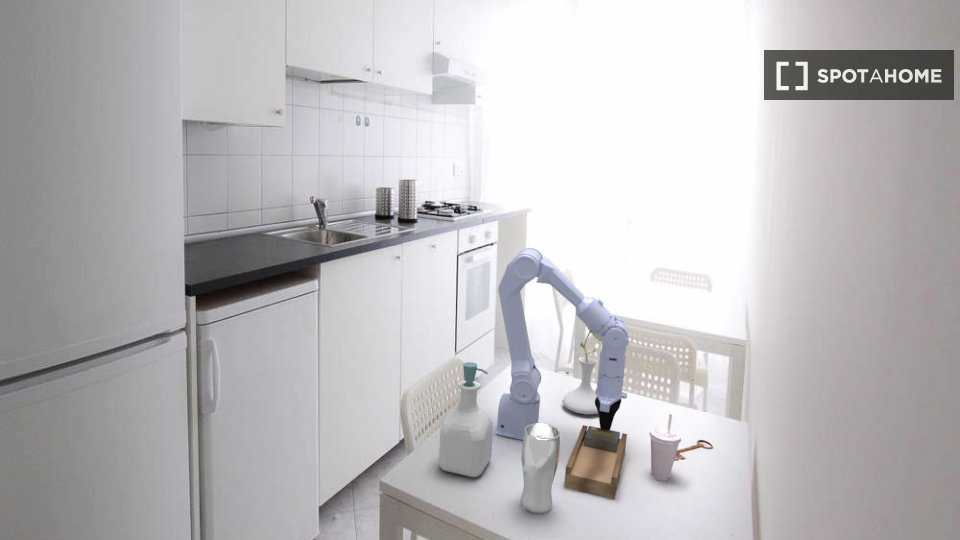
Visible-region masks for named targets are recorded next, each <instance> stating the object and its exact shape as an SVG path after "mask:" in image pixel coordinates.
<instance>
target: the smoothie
mask: <svg viewBox="0 0 960 540" xmlns="http://www.w3.org/2000/svg"><path fill="white" fill-rule="evenodd" d="M672 419H673V414H672V413H669V414H668V422H667V426H654V427H652V428H650V430H649V433H648V435H649V438H650V474H651V476H652V477H653V478H654V479H656V480H657V481H658V480H659V481H668V480H670V477H671V474H672V470H673V466H674V463H675V461H674V459H676V458H675V456H676V452H677V450H678V448H679V444H680V443H681V442H682V434H681V433H680V432H678V431H677V430H676V429H673V428H671V425H672Z"/></svg>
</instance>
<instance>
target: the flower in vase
mask: <svg viewBox="0 0 960 540" xmlns="http://www.w3.org/2000/svg"><path fill="white" fill-rule="evenodd" d="M584 325H585V326H586V328H587V330H588V331H589V332H588V333H587V334H586V338H585V339H584V343H583V341H581V342H580V344H579V346H580V347H581V348H582V349H583V350H584V355H585V356H580V357H578V362H579V363H580V366H581V374H582V375H581V382H580V385H579V386H578V387H576V388H575V389H573V390H571V391H569V392H568V393H566V394H565V395H564V396H563V398H562V403H563V406H564V407H565V408H566V409H568V410H569V411H571V412H574V413H577V414H580V415H581V414H582V415H598V410H597V408H596V406H595V399H596V397H597V395H596V393H595V391H596V390H594V389H593V388H592V385H591V378H592V373H593V369H594V368H595V366H596V364H597V363H599V361H598V359H597V358H594V357H591V356H588V355H590V354H592V353H594V352H596V351H597V350H596V349H594V350H592V351H588V352H587V349H586V347H587V346H586V343H587V340H588V338H589V336H590V334H591V336H592V337H594V338H595V340H597V341H599V342H602V341H601V336H599V335H596V334H595V333H594V332H593V331H592V330H591V329H590V328H589V327H588V326H587V325H586V324H585V323H584Z"/></svg>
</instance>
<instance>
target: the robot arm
mask: <svg viewBox="0 0 960 540" xmlns="http://www.w3.org/2000/svg"><path fill="white" fill-rule="evenodd" d="M535 278H537V280H536V283H538V284H546V285H547V284H548V285H550V286H551V287H552V288H554V290H555V291H557V292H558V293H559V294H560V295H561V296H562V297H564V298H565V299H566V300H567V301H568V302H569V303H570V304H571V305H572V306H574V307H575V315H576V317H577V318H578V319H579V320H580V321H582V323H583V324H584V325H585V324H586V325H587V326H588V327H589V328H590V329H591V330H592V331H593V332H594V333H595V334H596V335H599V336H601V341H600V342H601V343H602V344H601V351H599V352H600V354H599V361H598V371H597V381H596V388H595V390H594V391H595V393H596V395H597V397H596V399H595V406H596V408H597V410H598V413H597V415H598V420H599V421H598V422H599V428H602V429H607V430H611V429H612V425H613V421H614V419H615V418H614V417H615V416H616V413H617V411H619V409H620V407H621V404H622V399H624V400H626V399H627V398H628V393H627V392H623V386H624V378H625V369H626V359H627V355H626V353H627V347H628V345H629V344H630V340H629V333H628V332H629V331H628V328H627V326H626V324H625V323H624V321H623V320H622V319H620V318H619V317H618V315H616V314H615V315H614V314H613V313H611V312H610V311H609V309H607V308H606V307H605V306H604V301H603V300H602V299H601V298H599V299H597V298H595V296H585V294H583V292H582V291H581V290H579V288H577V286H576V285H575V284H574V283H573V282H572V281H571V280H570V279H569V278H568V277H567V276H566V275H565V274H564V273H563V272H562V271H561V270H560V268H558V266H556V265H555V264H554V263H553V261H551V260H550V258H548V257H546V256H545V255H544V256H543V254H542V252H540V251H539V250H538V249H536V248H532V247H527V248H523V249H522V250H521V251H520V252H519V253H518V254H517V255H516V256H515V257H513V259H512V260H511V261H510V262H509V263H507V265H506V269H505V271H504V274H503V276H502V278H501V280H500V283H499V285H498V290H497V291H498V295H499V301H500V308H501V311H502V318H503V323H504V328H505V333H506V339H507V340H506V341H507V344H508V351H509V355H510V356H509V357H510V360H511V361H510V362H511V363H510V365H511V366H510V367H511V368H510V375H511V383H510V386H509V393H503V394H502V395H500V396H501V397H500V400H499V404H498V410H497V422H496V423H497V426H496V432H495V434H496V435H498V436H502V437H507V438H511V439H515V440H516V439H517V440H520V441H523V437H524V429H525V427H526V426H528V425H530V424H534V423H539V417H540V404H541V395H540V394H539V392H538V389H539V386H540V384H541V381H542V374H541V372H540V370H539V369H538V368H537V366H536V361H535V358H534V357H533V355H532V350H531V345H530V339H529V332H528V328H527V321H526V316H525V311H524V305H523V299H522V293H521V291H522V290H523V288H524V287H525V286H526V285H527V284H528V283H530V282H531V281H533V280H534V279H535ZM586 325H585V326H586ZM587 326H586V327H587Z"/></svg>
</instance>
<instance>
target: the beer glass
mask: <svg viewBox="0 0 960 540" xmlns="http://www.w3.org/2000/svg"><path fill="white" fill-rule="evenodd" d="M560 434H561V432H560V430H559V429H558V428H557V427H555V426H553V425H551V424H548V423H543V422H541V423H539V422H538V423H534V424H530V425H528V426H526V427H525V429H524V437H523V440H522V444H521V445H522V446H521V467H522V469H521V470H522V477H523V488H522V493H521V497H520V501H519V503H520V506H521V508H523V510H525V511H526V512H528V513H531V514H536V515H537V514H538V515H539V514H540V515H541V514H542V515H543V514H546V513H549V512H550V511H551V510H552V509H553V498H552V497H553V496H552V493H553V492H552V491H553V490H552V489H553V483H554V480H555V477H556V474H557V473H556V472H557V468H558V463H559V459H560V449H561V447H560V443H561V442H560V441H561V440H560V436H561V435H560Z"/></svg>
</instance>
